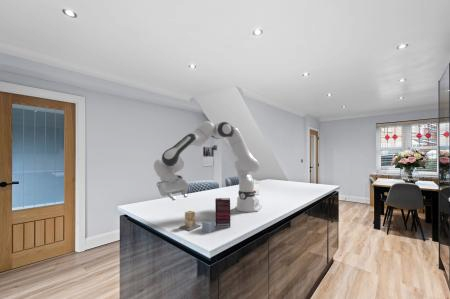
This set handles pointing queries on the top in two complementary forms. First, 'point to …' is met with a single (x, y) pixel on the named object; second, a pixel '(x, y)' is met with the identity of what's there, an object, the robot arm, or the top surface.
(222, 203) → the supplement box
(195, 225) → the charcoal mat
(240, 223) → the top surface
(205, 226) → the blue-grey cube
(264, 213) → the top surface
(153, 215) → the top surface
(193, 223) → the oak block
